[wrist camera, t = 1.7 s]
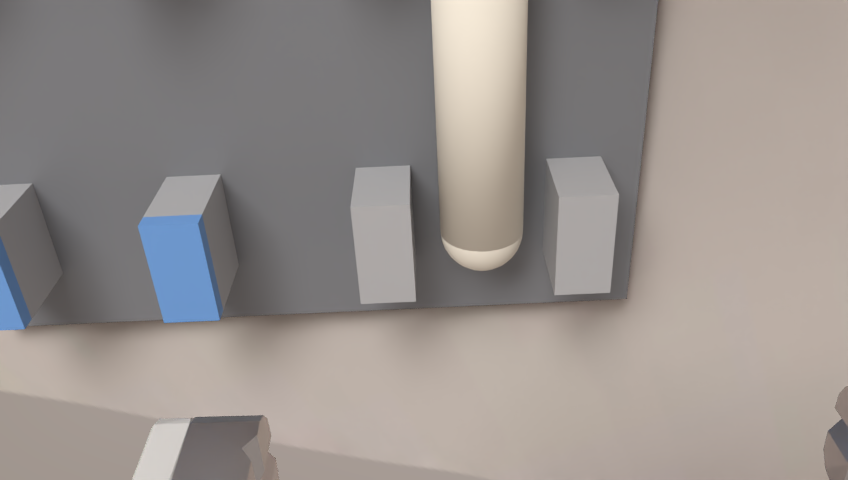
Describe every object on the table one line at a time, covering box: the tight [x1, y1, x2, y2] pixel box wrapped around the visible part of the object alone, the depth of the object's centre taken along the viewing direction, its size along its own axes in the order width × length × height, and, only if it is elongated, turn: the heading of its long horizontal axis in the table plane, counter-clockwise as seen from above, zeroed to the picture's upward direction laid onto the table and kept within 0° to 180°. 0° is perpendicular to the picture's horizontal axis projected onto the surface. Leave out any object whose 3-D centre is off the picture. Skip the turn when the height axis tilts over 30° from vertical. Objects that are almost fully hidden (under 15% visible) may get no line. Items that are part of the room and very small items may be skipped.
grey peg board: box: [0, 0, 658, 330], centre depth 25 cm, size 26×22×6 cm
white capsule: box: [431, 0, 528, 271], centre depth 25 cm, size 16×3×3 cm, turn 3°
